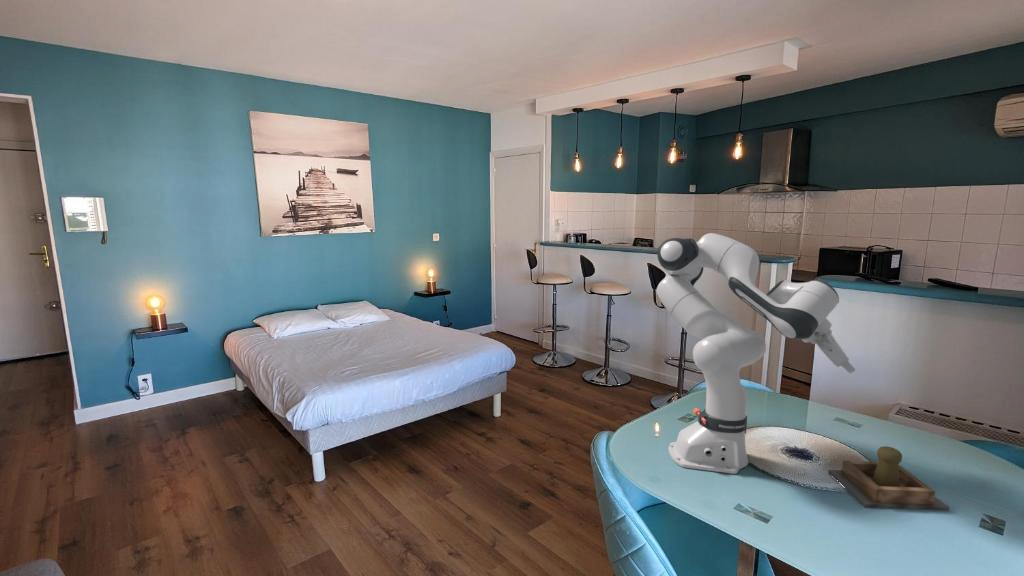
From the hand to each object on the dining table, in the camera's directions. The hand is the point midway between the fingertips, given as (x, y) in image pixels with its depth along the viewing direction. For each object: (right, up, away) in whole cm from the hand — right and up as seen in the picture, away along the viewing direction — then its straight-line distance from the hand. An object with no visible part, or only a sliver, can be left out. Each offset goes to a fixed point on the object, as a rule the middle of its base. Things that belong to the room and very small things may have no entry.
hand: (848, 365), depth 137 cm
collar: (+3, -32, -9) cm, 34 cm away
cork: (+3, -31, -9) cm, 33 cm away
